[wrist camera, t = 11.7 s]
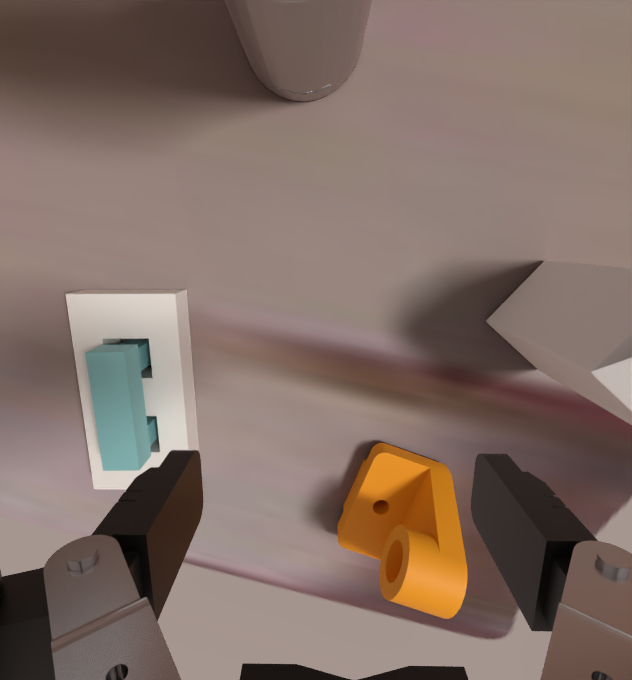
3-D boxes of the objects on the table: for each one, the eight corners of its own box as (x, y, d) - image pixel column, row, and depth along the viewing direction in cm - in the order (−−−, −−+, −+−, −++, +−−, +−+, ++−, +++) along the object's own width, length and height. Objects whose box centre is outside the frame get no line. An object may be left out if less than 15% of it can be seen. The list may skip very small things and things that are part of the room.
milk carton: (537, 370, 38) (742, 492, 20) (483, 320, 37) (646, 400, 19) (597, 312, 37) (877, 385, 18) (543, 259, 36) (782, 279, 17)
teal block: (123, 334, 38) (84, 352, 31) (156, 333, 38) (124, 352, 31) (136, 434, 40) (103, 470, 34) (167, 434, 40) (139, 470, 34)
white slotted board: (85, 289, 37) (65, 293, 34) (186, 289, 37) (175, 293, 34) (110, 471, 41) (94, 489, 38) (200, 471, 41) (191, 489, 38)
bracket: (374, 435, 40) (396, 516, 28) (443, 460, 40) (492, 549, 29) (333, 526, 42) (339, 634, 31) (399, 548, 43) (428, 663, 31)
